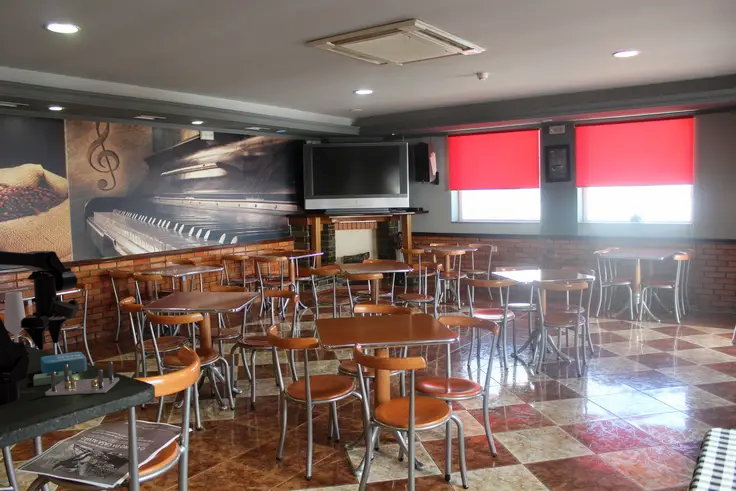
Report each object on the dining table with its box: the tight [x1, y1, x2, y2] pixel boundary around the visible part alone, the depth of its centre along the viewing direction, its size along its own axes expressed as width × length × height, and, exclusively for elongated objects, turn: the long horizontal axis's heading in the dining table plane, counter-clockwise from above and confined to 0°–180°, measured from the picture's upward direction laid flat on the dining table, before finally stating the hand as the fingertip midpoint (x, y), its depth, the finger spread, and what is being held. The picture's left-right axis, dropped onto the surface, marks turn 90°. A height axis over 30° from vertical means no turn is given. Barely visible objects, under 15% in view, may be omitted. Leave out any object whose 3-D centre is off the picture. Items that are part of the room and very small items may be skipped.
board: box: [32, 370, 73, 387], centre depth 183 cm, size 6×10×3 cm, turn 116°
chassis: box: [44, 361, 120, 397], centre depth 174 cm, size 12×16×6 cm
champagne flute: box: [3, 291, 27, 342], centre depth 208 cm, size 7×7×24 cm
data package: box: [39, 351, 88, 374], centre depth 194 cm, size 12×4×12 cm
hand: (48, 346), depth 179 cm, fingers open, 9 cm apart
